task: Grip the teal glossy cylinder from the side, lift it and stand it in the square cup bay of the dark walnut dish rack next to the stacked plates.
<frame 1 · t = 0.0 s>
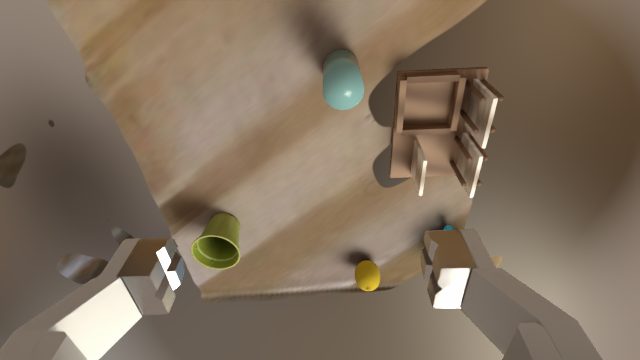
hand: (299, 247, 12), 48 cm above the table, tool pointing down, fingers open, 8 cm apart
plant pot: (226, 222, 76), on the table
lemon: (365, 260, 82), on the table
rack: (433, 126, 62), on the table
teal glossy cylinder: (340, 67, 56), on the table
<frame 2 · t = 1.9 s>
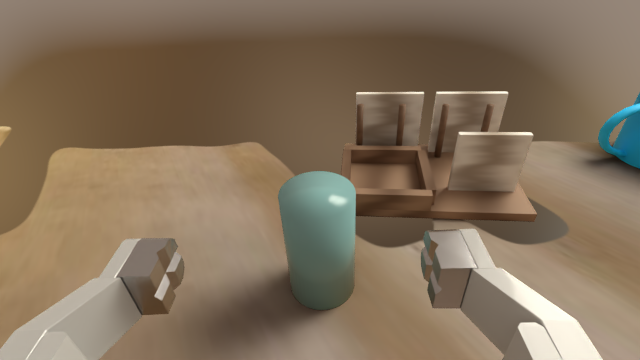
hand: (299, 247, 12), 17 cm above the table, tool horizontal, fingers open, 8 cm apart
mug: (634, 159, 45), on the table
rack: (424, 180, 43), on the table
teal glossy cylinder: (322, 282, 31), on the table
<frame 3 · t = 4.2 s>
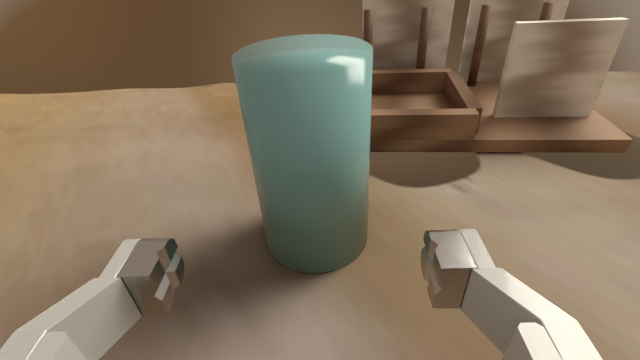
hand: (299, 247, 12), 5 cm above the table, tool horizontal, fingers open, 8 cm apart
rack: (457, 112, 32), on the table
teal glossy cylinder: (317, 233, 20), on the table
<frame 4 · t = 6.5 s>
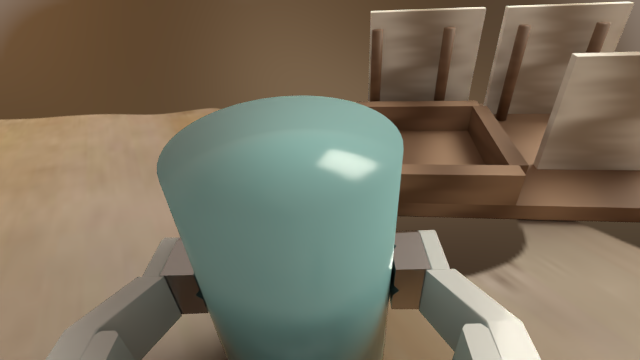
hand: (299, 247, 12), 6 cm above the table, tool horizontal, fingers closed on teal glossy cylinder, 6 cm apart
rack: (485, 155, 26), on the table
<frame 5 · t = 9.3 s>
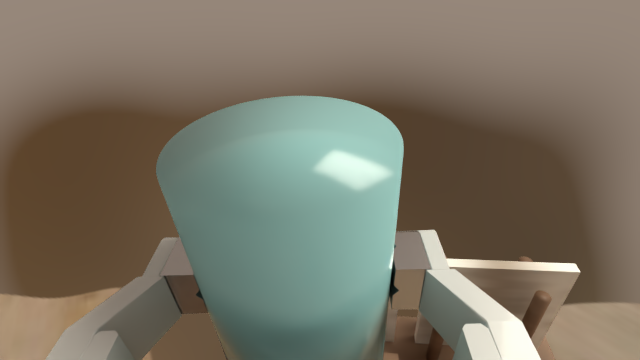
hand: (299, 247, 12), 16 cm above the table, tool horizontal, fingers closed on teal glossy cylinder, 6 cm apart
when the fingers open (8 cm above the table, at t = 12.0 s): teal glossy cylinder drops 1 cm, resting on rack.
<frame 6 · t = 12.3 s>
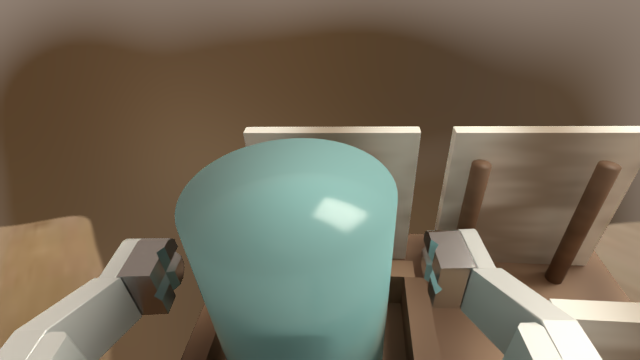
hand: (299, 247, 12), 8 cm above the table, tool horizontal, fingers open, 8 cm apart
rack: (424, 354, 17), on the table
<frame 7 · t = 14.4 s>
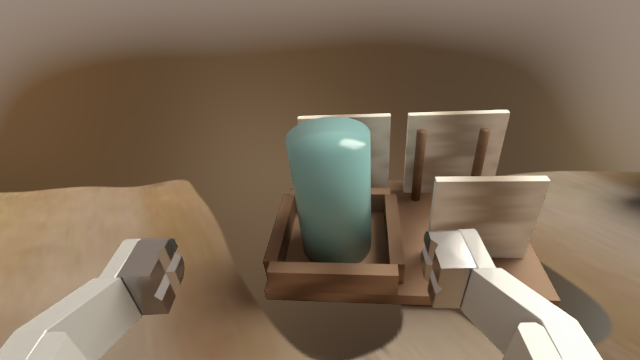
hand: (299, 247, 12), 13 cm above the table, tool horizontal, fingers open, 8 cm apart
rack: (396, 235, 31), on the table
teal glossy cylinder: (336, 242, 29), point 1 cm above the table, touching rack
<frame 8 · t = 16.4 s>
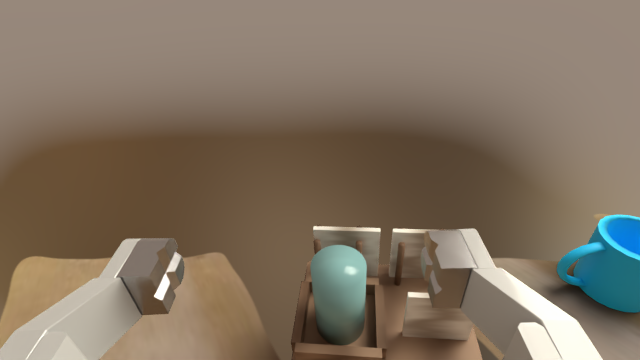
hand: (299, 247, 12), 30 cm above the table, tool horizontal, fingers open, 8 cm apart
mug: (594, 286, 45), on the table
rack: (382, 314, 43), on the table
teal glossy cylinder: (340, 322, 41), point 1 cm above the table, touching rack
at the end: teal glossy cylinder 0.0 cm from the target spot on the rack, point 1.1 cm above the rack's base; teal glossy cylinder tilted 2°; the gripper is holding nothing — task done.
